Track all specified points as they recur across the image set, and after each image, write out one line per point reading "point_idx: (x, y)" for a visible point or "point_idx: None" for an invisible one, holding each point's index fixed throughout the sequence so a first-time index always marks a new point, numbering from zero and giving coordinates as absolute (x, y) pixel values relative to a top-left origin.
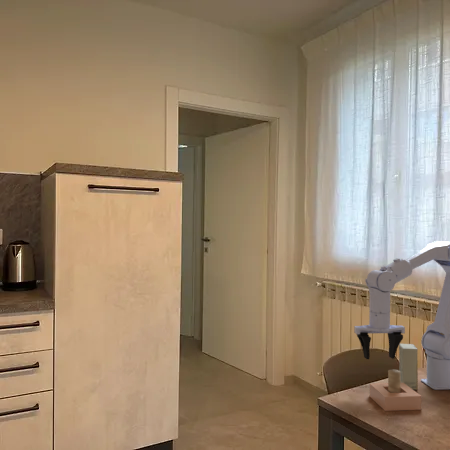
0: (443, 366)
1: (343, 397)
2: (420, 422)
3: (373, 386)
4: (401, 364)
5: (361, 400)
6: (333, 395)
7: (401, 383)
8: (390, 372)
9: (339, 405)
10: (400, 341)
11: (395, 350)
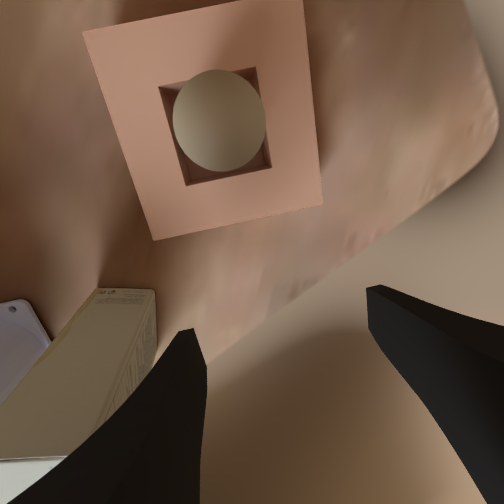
0: None
1: (413, 164)
2: None
3: (317, 162)
4: (131, 378)
5: (351, 141)
6: (443, 181)
7: (165, 227)
8: (256, 92)
9: (460, 68)
10: (61, 462)
11: (158, 370)
